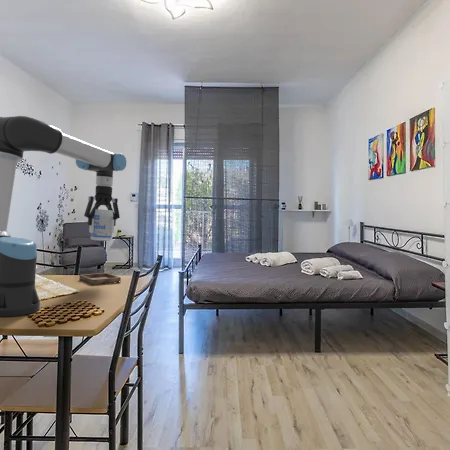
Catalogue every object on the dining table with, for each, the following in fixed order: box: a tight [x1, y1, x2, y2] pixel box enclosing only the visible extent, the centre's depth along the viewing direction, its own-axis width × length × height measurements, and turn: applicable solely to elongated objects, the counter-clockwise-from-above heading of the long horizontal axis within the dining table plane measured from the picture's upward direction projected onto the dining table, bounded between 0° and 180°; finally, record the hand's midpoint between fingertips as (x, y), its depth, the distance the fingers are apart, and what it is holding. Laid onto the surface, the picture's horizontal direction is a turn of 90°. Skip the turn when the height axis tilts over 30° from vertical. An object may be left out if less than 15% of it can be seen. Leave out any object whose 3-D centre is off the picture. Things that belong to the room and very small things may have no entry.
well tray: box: [78, 272, 122, 286], centre depth 169 cm, size 14×14×2 cm
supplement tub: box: [90, 208, 114, 242], centre depth 168 cm, size 10×10×15 cm
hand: (101, 232), depth 168 cm, fingers closed on supplement tub, 9 cm apart
